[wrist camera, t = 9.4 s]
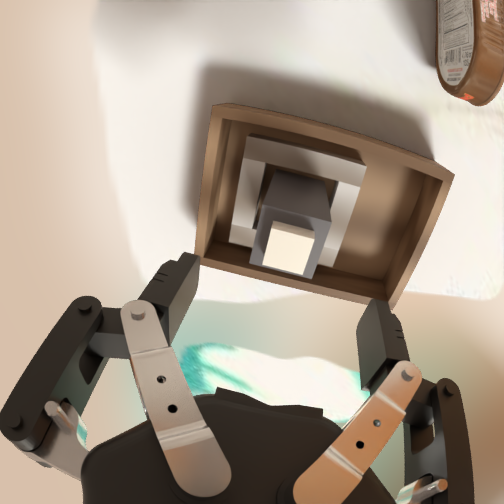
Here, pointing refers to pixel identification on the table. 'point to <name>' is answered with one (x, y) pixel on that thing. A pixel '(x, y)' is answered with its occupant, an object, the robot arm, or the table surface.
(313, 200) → the connector
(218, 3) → the table surface
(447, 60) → the tin
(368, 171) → the box
